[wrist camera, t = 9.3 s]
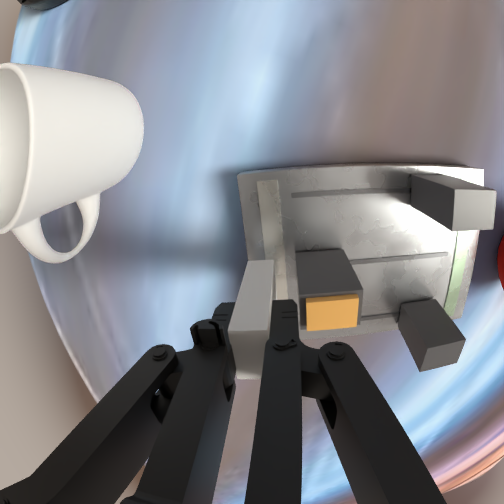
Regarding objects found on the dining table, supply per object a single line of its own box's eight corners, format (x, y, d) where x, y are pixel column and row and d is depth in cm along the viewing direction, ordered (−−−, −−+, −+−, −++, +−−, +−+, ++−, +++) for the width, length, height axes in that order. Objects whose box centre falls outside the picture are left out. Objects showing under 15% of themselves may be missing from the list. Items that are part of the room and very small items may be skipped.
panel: (241, 171, 18) (236, 175, 16) (468, 166, 15) (484, 169, 13) (261, 326, 22) (259, 342, 20) (451, 305, 20) (461, 318, 18)
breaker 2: (401, 303, 18) (427, 348, 13) (435, 298, 17) (465, 339, 13) (397, 326, 18) (419, 372, 14) (430, 320, 18) (456, 362, 13)
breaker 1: (411, 174, 14) (454, 189, 10) (449, 175, 14) (496, 190, 9) (410, 206, 15) (452, 231, 10) (448, 205, 15) (492, 229, 10)
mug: (74, 232, 21) (-15, 288, 11) (62, 98, 16) (-41, 99, 6) (157, 230, 20) (66, 307, 10) (147, 69, 15) (39, 31, 6)
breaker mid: (295, 252, 17) (299, 299, 12) (343, 249, 17) (365, 293, 12) (296, 281, 18) (300, 334, 13) (343, 278, 17) (361, 329, 12)
